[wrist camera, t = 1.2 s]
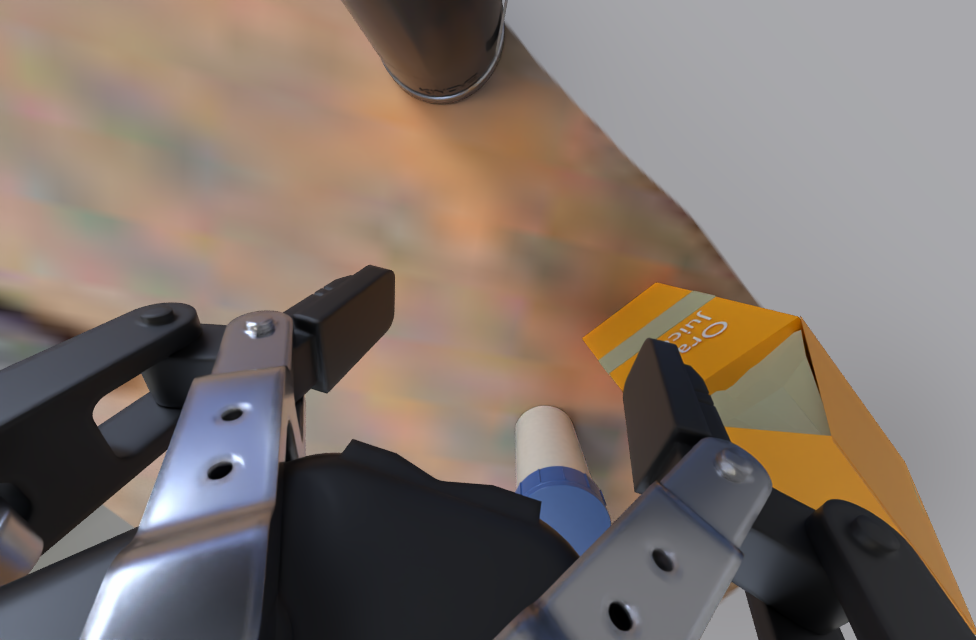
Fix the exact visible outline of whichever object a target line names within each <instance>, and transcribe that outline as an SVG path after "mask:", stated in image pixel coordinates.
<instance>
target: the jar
mask: <svg viewBox="0 0 976 640" xmlns="http://www.w3.org/2000/svg"><path fill="white" fill-rule="evenodd" d="M550 466H565V467H570V468H574V469H576V470H579V471H581V472H582V473H584V474H585V473H586V474H587V476H588V477H590V478H591V479H592V476H591V473H590V470H589V468H588V465H587V462H586V459H585V456H584V453H583V451H582V448H581V445H580V442H579V439H578V436H577V433H576V431H575V428H574V425H573V423H572V421H571V419H570V418H569V416H568V415H567V414H566V413H564V412H563V411H562V410H560V409H558V408H555V407H552V406H538V407H534V408H532V409H530V410H528V411H526V412H525V413H524V414H523V415H522V416H521V417H520V418H519V420H518V422H517V424H516V427H515V470H516V490H517V488H518V486H519V483H520V482H522V481H523V480H524V479H525V478H526V477H527V476H528V475H529V474H531V473H533V472H534V471H536V470H537V469H542V468H545V467H550ZM592 480H593V479H592Z"/></svg>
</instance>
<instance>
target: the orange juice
mask: <svg viewBox="0 0 976 640" xmlns="http://www.w3.org/2000/svg"><path fill="white" fill-rule="evenodd" d="M647 338H653V339H657V340H661V341H665V342H669V343H673V344H676V345H677V347H678V350H679V353H680V355H681V358H682V360H683V363H684V364H687V365H690V366H691V367H692V368H693V369H694V370H695V371H696V372H697V373H698V374H699V375H700V376H701V377H702V378H703V380H704V382H705V384H706V386H707V389H708V391H709V395H711V398H712V400H713V402H714V406H715V407H716V409H717V411H718V413H719V416H720V418H721V420H722V423H723V425H724V427H725V429H726V432H727V434H728V436H729V438H730V441H731V442H732V443H734V444H736V445H738V446H739V447H741V448H742V449H744V450H746V451H747V452H748V453H750V454H751V455H752V456H753V457H754V458H756V459H757V460H758V461H759V462H760V463H761V465H762V466H763V467H764V468H765V470H766V471H767V473H768V474H769V476H770V478H771V481H772V487H773V488H775V489H777V490H778V491H780V492H782V493H784V494H786V495H788V496H790V497H792V498H794V499H795V500H797V501H799V502H801V503H803V504H805V505H807V506H809V507H811V508H813V509H815V510H817V509H818V508H819V507H820V506H822V505H823V504H824V503H825V502H826V501H827V500H830V499H840V500H845V501H848V502H851V503H854V504H856V505H858V506H860V507H862V508H864V509H866V510H868V511H870V512H871V513H873V514H875V515H876V516H878V517H879V518H881V519H882V520H883V521H885V522H886V523H887V524H889V525H890V526H891V527H892V528H894V529H895V530H896V531H897V532H898V533H899V534H900V535H901V536H902V537H903V538H904V539H905V540H906V541H907V542H908V543H909V544H910V545H911V546H912V548H913V549H914V550H915V551H916V553H917V554H918V556H919V557H920V558H921V560H922V561H923V563H924V564H925V566H926V567H927V568H928V570H929V571H930V573H931V574H932V575H933V577H934V578H935V580H936V581H937V582H938V584H939V585H940V587H941V588H942V590H943V591H944V592H945V594H946V595H947V597H948V598H949V599H950V601H951V602H952V604H953V605H954V607H955V608H956V609H957V611H958V612H959V614H960V615H961V616H962V618H963V619H964V621H965V622H966V624H967V625H968V626H969V628H970V629H971V631H972V632H973V633H974V634H975V635H976V628H975V625H974V623H973V620H972V618H971V615H970V613H969V611H968V608H967V606H966V604H965V601H964V599H963V597H962V594H961V592H960V590H959V587H958V585H957V583H956V580H955V578H954V576H953V573H952V571H951V569H950V566H949V564H948V562H947V559H946V557H945V555H944V552H943V550H942V548H941V545H940V543H939V540H938V538H937V536H936V534H935V531H934V529H933V526H932V524H931V522H930V519H929V517H928V515H927V512H926V510H925V508H924V505H923V503H922V501H921V498H920V496H919V494H918V491H917V489H916V487H915V484H914V482H913V480H912V477H911V475H910V473H909V470H908V468H907V466H906V463H905V461H904V460H903V459H902V457H901V456H900V454H899V453H898V452H897V450H896V449H895V447H894V446H893V445H892V443H891V442H890V440H889V439H888V438H887V436H886V435H885V433H884V432H883V431H882V429H881V428H880V426H879V425H878V424H877V422H876V421H875V419H874V418H873V417H872V415H871V414H870V412H869V411H868V410H867V408H866V407H865V405H864V404H863V403H862V401H861V400H860V399H859V397H858V396H857V394H856V393H855V391H854V390H853V389H852V387H851V386H850V384H849V383H848V382H847V380H846V379H845V377H844V376H843V375H842V373H841V372H840V371H839V369H838V368H837V366H836V365H835V363H834V362H833V361H832V359H831V358H830V356H829V355H828V354H827V352H826V351H825V349H824V348H823V347H822V345H821V344H820V342H819V341H818V340H817V339H816V337H815V335H814V334H813V333H812V331H811V330H810V328H809V327H808V326H807V324H806V323H805V321H804V320H803V319H802V317H801V319H800V318H799V317H798V316H794V315H790V314H785V313H781V312H777V311H773V310H768V309H765V308H761V307H756V306H752V305H748V304H744V303H740V302H736V301H731V300H727V299H723V298H719V297H716V296H715V295H711V294H706V293H702V292H698V291H694V290H693V291H690V290H686V289H682V288H677V287H673V286H669V285H665V284H661V283H657V282H656V283H655V284H653V285H652V286H651V287H649V288H648V289H647V290H645V291H644V292H643V293H641V294H640V295H639V296H637V297H636V298H635V299H633V300H632V301H631V302H629V303H628V304H627V305H626V306H624V307H623V308H622V309H620V310H619V311H618V312H616V313H615V314H614V315H612V316H611V317H610V318H608V319H607V320H606V321H604V322H603V323H602V324H600V325H599V326H598V327H596V328H595V329H594V330H592V331H591V332H590V333H588V334H587V335H586V336H584V337H583V338H582V339H583V341H584V342H585V343H586V345H587V346H588V347H589V349H590V350H591V351H592V352H593V354H594V355H595V356H596V358H597V359H598V361H599V362H600V364H601V365H602V366H603V368H604V369H605V370H606V372H607V373H608V374H609V375H610V377H611V378H612V379H613V380H614V382H615V383H616V384H617V385H618V386H619V388H620V389H621V390H622V391H623V390H624V385H625V381H626V378H627V376H628V374H629V372H630V370H631V368H632V366H633V364H634V361H635V359H636V357H637V355H638V353H639V351H640V349H641V347H642V345H643V343H644V341H645V340H646V339H647Z"/></svg>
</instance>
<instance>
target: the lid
mask: <svg viewBox="0 0 976 640" xmlns="http://www.w3.org/2000/svg"><path fill="white" fill-rule="evenodd" d="M515 493H518V494H521V495H524V496H527V497H530V498H533V499H536V500H539V501H542V503H541V511H540V519H541V520H543V521H544V522H546V523H547V524H548V525H550V526H551V527H552V528H553V529H555V530H556V531H557V532H558V533H559V534H560V535H561V536H562V537H563V538H564V539H566V540H567V541H568V542H569V544H570V545H571V546H572V547H573V548H574V550H575V551H576V552H577V553H578V555H579V556H581V555H582V554H583V553H584V552H585V551H586V550H587V549H588V548H589V547H590V546H591V545H592V544H593V543H594V542H595V541H596V540H597V539H598V538H599V537H600V536H601V535H602V534H603V533H604V532H605V531H606V530H607V529H608V528H609V527H610V526H611V521H610V516H609V513H608V511H607V508H606V502H605V499H604V496H603V494H602V491H601V490H599V488H598V486H597V485H596V484H595V482H594V481H593V480H592V479H591V478H590V477H588V476H587V474H586V473H585V474H584V473H582V472H581V471H579V470H576V469H574V468H570V467H565V466H550V467H545V468H542V469H537V470H536V471H534V472H533V473H531V474H529V475H528V476H527V477H526V478H525V479H524V480H523V481H522V482H520V483H519V486H518V488H517V490H516V492H515Z"/></svg>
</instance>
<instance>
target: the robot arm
mask: <svg viewBox="0 0 976 640" xmlns="http://www.w3.org/2000/svg"><path fill="white" fill-rule="evenodd" d="M341 1H342V3H343V4H344V5H345V7H346V8H347V10H348V11H349V13H350V14H351V16H352V17H353V19H354V20H355V21H356V23H357V24H358V26H359V27H360V29H361V30H362V32H363V33H364V35H365V36H366V37H367V39H368V40H369V42H370V43H371V45H372V46H373V48H374V49H375V51H376V52H377V54H378V55H379V57H380V58H381V60H382V62H383V64H384V66H385V68H386V69H387V71H388V72H389V74H390V75H391V76H392V78H393V79H394V81H395V82H396V83H397V84H398V85H399V86H400V87H401V88H402V89H403V90H404V91H406V92H407V93H408V94H410V95H411V96H413V97H415V98H417V99H419V100H422V101H425V102H429V103H434V104H448V103H453V102H457V101H460V100H462V99H465V98H467V97H469V96H470V95H472V94H473V93H475V92H476V91H477V90H479V89H480V88H481V87H482V86H483V85H484V84H485V83H486V82H487V80H488V79H489V78H490V76H491V75H492V73H493V72H494V70H495V68H496V66H497V64H498V61H499V59H500V56H501V53H502V49H503V43H504V32H505V27H504V17H505V12H506V7H507V0H505V4H504V9H503V5H502V0H341ZM394 305H395V275H394V272H393V271H392V270H388V269H384V268H381V267H377V266H373V265H368V266H366V267H365V268H363V269H362V270H360V271H359V272H357V273H355V274H354V275H350V276H346V277H343V278H339V279H336V280H334V281H332V282H331V283H329V284H328V285H326V286H324V289H323V288H321V289H320V290H318V291H316V292H315V294H314V295H313V294H312V295H310V296H309V297H307V298H305V299H304V300H302V301H301V302H299V303H297V304H296V305H294V306H293V307H291V308H289V309H288V310H286V311H285V312H283V313H282V312H278V311H256V312H251V313H247V314H244V315H241V316H239V317H237V318H235V319H233V320H232V321H231V322H230V323H229V324H228V325H214V324H200V321H199V318H198V315H197V312H196V310H195V308H193V307H192V306H190V305H187V304H183V303H159V304H153V305H148V306H144V307H141V308H138V309H135V310H133V311H131V312H128V313H126V314H124V315H122V316H120V317H117V318H115V319H113V320H111V321H108V322H106V323H104V324H102V325H100V326H97V327H95V328H93V329H91V330H88V331H86V332H84V333H82V334H80V335H77V336H75V337H73V338H71V339H69V340H66V341H64V342H62V343H60V344H57V345H55V346H53V347H51V348H49V349H46V350H44V351H42V352H40V353H38V354H35V355H33V356H31V357H29V358H26V359H24V360H22V361H20V362H18V363H15V364H13V365H11V366H9V367H7V368H4V369H2V370H0V640H700V638H701V636H702V634H703V633H704V631H705V629H706V627H707V625H708V623H709V622H710V620H711V618H712V616H713V614H714V612H715V610H716V609H717V607H718V605H719V603H720V601H721V599H722V598H723V596H724V594H725V592H726V590H727V588H728V586H729V585H730V583H731V582H733V583H734V584H736V585H737V586H739V587H741V588H742V589H744V590H745V593H746V596H747V600H748V604H749V607H750V611H751V614H752V618H753V621H754V625H755V629H756V632H757V636H758V639H759V640H845V639H844V637H843V634H842V632H841V630H840V628H839V627H840V626H842V625H844V624H846V623H848V622H849V623H850V625H851V627H852V629H853V631H854V633H855V636H856V638H857V640H976V636H975V635H974V633H973V632H972V631H971V629H970V628H969V626H968V625H967V624H966V622H965V621H964V619H963V618H962V616H961V615H960V614H959V612H958V611H957V609H956V608H955V607H954V605H953V604H952V602H951V601H950V599H949V598H948V597H947V595H946V594H945V592H944V591H943V590H942V588H941V587H940V585H939V584H938V582H937V581H936V580H935V578H934V577H933V575H932V574H931V573H930V571H929V570H928V568H927V567H926V566H925V564H924V563H923V561H922V560H921V558H920V557H919V556H918V554H917V553H916V551H915V550H914V549H913V548H912V546H911V545H910V544H909V543H908V542H907V541H906V540H905V539H904V538H903V537H902V536H901V535H900V534H899V533H898V532H897V531H896V530H895V529H894V528H892V527H891V526H890V525H889V524H887V523H886V522H885V521H883V520H882V519H881V518H879V517H878V516H876V515H875V514H873V513H871V512H870V511H868V510H866V509H864V508H862V507H860V506H858V505H856V504H854V503H851V502H848V501H845V500H840V499H830V500H827V501H826V502H825V503H824V504H823V505H822V506H820V507H819V508H818V509H817V510H815V509H813V508H811V507H809V506H807V505H805V504H803V503H801V502H799V501H797V500H795V499H794V498H792V497H790V496H788V495H786V494H784V493H782V492H780V491H778V490H777V489H775V488H773V487H772V481H771V478H770V476H769V474H768V473H767V471H766V470H765V468H764V467H763V466H762V465H761V463H760V462H759V461H758V460H757V459H756V458H754V457H753V456H752V455H751V454H750V453H748V452H747V451H746V450H744V449H742V448H741V447H739V446H738V445H736V444H734V443H732V442H731V441H730V438H729V436H728V434H727V432H726V429H725V427H724V425H723V423H722V420H721V418H720V416H719V413H718V411H717V409H716V407H715V406H714V402H713V400H712V398H711V395H709V391H708V389H707V386H706V384H705V382H704V380H703V378H702V377H701V376H700V375H699V374H698V373H697V372H696V371H695V370H694V369H693V368H692V367H691V366H690V365H687V364H684V363H683V360H682V358H681V355H680V353H679V350H678V347H677V345H676V344H673V343H669V342H665V341H661V340H657V339H653V338H647V339H646V340H645V341H644V343H643V345H642V347H641V349H640V351H639V353H638V355H637V357H636V359H635V361H634V364H633V366H632V368H631V370H630V372H629V374H628V376H627V378H626V381H625V385H624V390H623V402H624V410H625V418H626V426H627V434H628V442H629V451H630V459H631V467H632V475H633V483H634V491H635V492H636V493H639V494H641V495H640V496H639V497H638V498H637V499H636V500H635V501H634V502H633V503H632V504H631V505H630V507H629V508H628V509H627V510H626V511H625V512H624V513H623V514H622V515H621V516H620V517H619V518H618V519H617V520H616V521H615V522H614V523H613V524H612V525H611V526H610V527H609V528H608V529H607V530H606V531H605V532H604V533H603V534H602V535H601V536H600V537H599V538H598V539H597V540H596V541H595V542H594V543H593V544H592V545H591V546H590V547H589V548H588V549H587V550H586V551H585V552H584V553H583V554H582V555H581V556H579V555H578V553H577V552H576V551H575V550H574V548H573V547H572V546H571V545H570V544H569V542H568V541H567V540H566V539H564V538H563V537H562V536H561V535H560V534H559V533H558V532H557V531H556V530H555V529H553V528H552V527H551V526H550V525H548V524H547V523H546V522H544V521H543V520H541V519H540V511H541V503H542V501H539V500H536V499H533V498H530V497H527V496H524V495H521V494H518V493H515V492H512V491H508V490H505V489H502V488H499V487H496V486H493V485H483V484H471V483H459V482H446V481H440V480H437V479H435V478H434V477H432V476H430V475H429V474H427V473H426V472H424V471H423V470H421V469H420V468H418V467H417V466H415V465H413V464H412V463H410V462H409V461H407V460H406V459H404V458H403V457H401V456H400V455H398V454H397V453H394V452H391V451H388V450H385V449H381V448H378V447H375V446H372V445H369V444H366V443H363V442H360V441H357V440H354V439H352V440H351V442H350V443H349V445H348V446H347V447H346V449H345V450H344V451H343V453H322V454H315V455H310V456H306V400H305V394H306V393H307V392H308V391H309V390H310V389H314V390H317V391H320V392H324V393H328V392H329V391H330V390H331V389H332V388H333V387H334V386H335V385H336V384H337V383H338V382H339V381H340V380H341V379H342V378H343V377H344V376H345V375H346V374H347V372H348V371H349V370H350V369H351V368H352V367H353V366H354V365H355V364H356V363H357V362H358V361H359V360H360V359H361V358H362V357H363V356H364V355H365V354H366V353H367V352H368V351H369V350H370V348H371V347H372V346H373V345H374V344H375V343H376V342H377V341H378V340H379V339H380V338H381V337H382V336H383V335H384V334H385V333H386V332H387V331H388V329H389V328H390V326H391V324H392V321H393V318H394ZM139 374H142V376H143V378H144V380H145V382H146V384H147V386H148V389H149V391H150V392H149V393H147V394H146V395H144V396H143V397H141V398H140V399H138V400H137V401H135V402H134V403H132V404H131V405H129V406H128V407H126V408H125V409H123V410H122V411H120V412H119V413H117V414H116V415H114V416H113V417H111V418H110V419H108V420H107V421H105V422H104V423H102V424H101V425H99V426H98V427H97V425H96V423H95V422H94V420H93V416H92V415H93V410H94V407H95V405H96V404H97V403H98V401H99V400H100V399H101V398H102V397H104V396H105V395H106V394H108V393H110V392H111V391H113V390H115V389H116V388H118V387H120V386H121V385H123V384H124V383H126V382H128V381H129V380H131V379H133V378H134V377H136V376H138V375H139ZM166 450H167V452H166V455H165V458H164V460H163V463H162V466H161V468H160V471H159V474H158V477H157V479H156V482H155V485H154V488H153V490H152V493H151V496H150V498H149V501H148V504H147V507H146V509H145V512H144V515H143V518H142V520H141V523H140V526H138V527H136V528H134V529H132V530H129V531H127V532H125V533H122V534H120V535H118V536H115V537H113V538H111V539H109V540H107V541H104V542H102V543H99V544H97V545H95V546H93V547H90V548H88V549H86V550H83V551H81V552H79V553H76V554H74V555H72V556H70V557H68V558H65V559H63V560H60V561H58V562H56V563H54V564H51V565H49V566H47V567H45V568H42V569H40V570H37V571H35V572H33V573H31V574H28V573H29V572H30V571H31V570H32V569H33V567H34V566H35V564H36V563H37V561H38V560H39V558H40V556H41V555H43V554H44V553H45V552H46V551H47V550H49V549H50V548H51V547H52V546H53V545H55V544H56V543H57V542H58V541H59V540H61V539H62V538H63V537H64V536H65V535H66V534H68V533H69V532H70V531H71V530H72V529H73V528H75V527H76V526H77V525H78V524H80V523H81V522H82V521H83V520H84V519H85V518H87V517H88V516H89V515H90V514H91V513H93V512H94V511H95V510H96V509H97V508H99V507H100V506H101V505H102V504H103V503H104V502H106V501H107V500H108V499H109V498H110V497H112V496H113V495H114V494H115V493H116V492H118V491H119V490H120V489H121V488H122V487H123V486H125V485H126V484H127V483H128V482H129V481H131V480H132V479H133V478H134V477H135V476H137V475H138V474H139V473H140V472H141V471H142V470H144V469H145V468H146V467H147V466H148V465H150V464H151V463H152V462H153V461H154V460H156V459H157V458H158V457H159V456H160V455H162V454H163V453H164V452H165V451H166Z"/></svg>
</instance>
